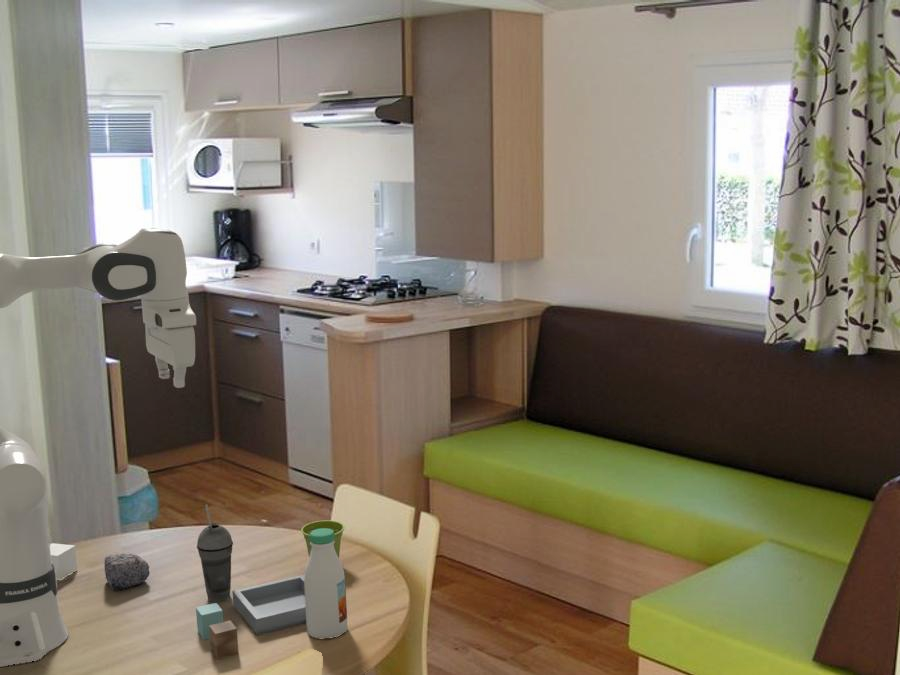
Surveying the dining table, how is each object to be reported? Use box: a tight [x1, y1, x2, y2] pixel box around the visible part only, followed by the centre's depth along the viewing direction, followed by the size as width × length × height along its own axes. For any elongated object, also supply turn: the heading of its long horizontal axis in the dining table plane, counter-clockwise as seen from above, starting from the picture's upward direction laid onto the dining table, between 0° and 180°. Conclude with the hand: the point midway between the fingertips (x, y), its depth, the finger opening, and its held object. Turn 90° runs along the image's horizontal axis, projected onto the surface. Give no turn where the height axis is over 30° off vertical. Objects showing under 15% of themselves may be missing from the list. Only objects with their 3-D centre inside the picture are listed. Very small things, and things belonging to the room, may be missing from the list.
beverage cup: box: [196, 504, 234, 603], centre depth 222 cm, size 7×7×20 cm
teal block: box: [195, 602, 224, 641], centre depth 208 cm, size 4×4×5 cm
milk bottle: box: [303, 528, 348, 639], centre depth 205 cm, size 8×8×20 cm
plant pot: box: [300, 519, 345, 559], centre depth 238 cm, size 9×9×9 cm
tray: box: [231, 574, 307, 636], centre depth 216 cm, size 15×15×3 cm
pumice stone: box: [104, 553, 150, 591], centre depth 231 cm, size 10×8×10 cm
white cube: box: [49, 542, 78, 579], centre depth 238 cm, size 6×6×6 cm
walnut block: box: [209, 620, 239, 660], centre depth 200 cm, size 4×4×5 cm
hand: (171, 382), depth 211 cm, fingers open, 8 cm apart
